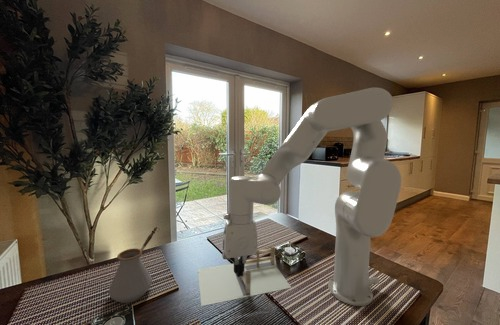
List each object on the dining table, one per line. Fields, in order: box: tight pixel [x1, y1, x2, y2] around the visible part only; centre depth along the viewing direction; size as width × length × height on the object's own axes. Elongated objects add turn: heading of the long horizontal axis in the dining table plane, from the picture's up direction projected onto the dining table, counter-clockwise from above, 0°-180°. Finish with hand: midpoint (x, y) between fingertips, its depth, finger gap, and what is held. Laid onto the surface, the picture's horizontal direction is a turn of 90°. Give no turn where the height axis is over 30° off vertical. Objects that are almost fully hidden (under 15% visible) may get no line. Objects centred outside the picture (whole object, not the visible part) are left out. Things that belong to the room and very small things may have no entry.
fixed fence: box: [245, 245, 276, 266], centre depth 79 cm, size 13×1×7 cm, turn 107°
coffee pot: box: [108, 226, 161, 304], centre depth 70 cm, size 21×12×15 cm, turn 174°
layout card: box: [197, 260, 292, 307], centre depth 73 cm, size 28×18×1 cm, turn 107°
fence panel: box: [238, 257, 251, 294], centre depth 71 cm, size 14×1×6 cm, turn 19°
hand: (238, 273), depth 67 cm, fingers closed
